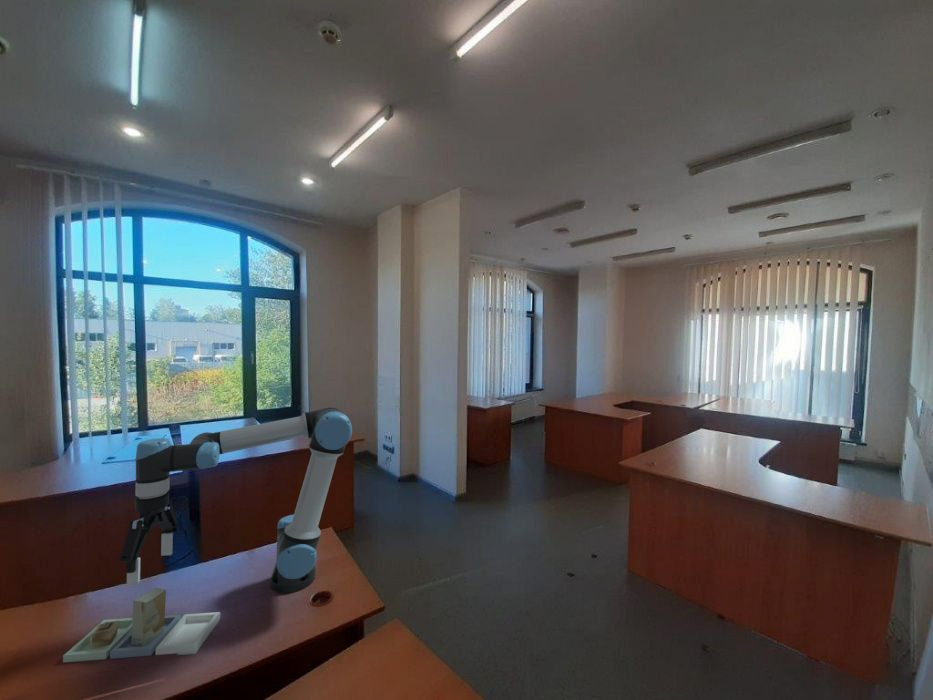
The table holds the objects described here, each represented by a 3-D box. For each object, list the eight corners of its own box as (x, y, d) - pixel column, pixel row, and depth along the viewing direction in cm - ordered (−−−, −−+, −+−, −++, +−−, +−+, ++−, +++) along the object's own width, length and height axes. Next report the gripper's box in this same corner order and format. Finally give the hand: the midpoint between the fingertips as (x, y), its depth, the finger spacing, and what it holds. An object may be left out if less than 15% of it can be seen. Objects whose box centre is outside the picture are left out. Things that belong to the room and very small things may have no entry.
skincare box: (143, 647, 103) (144, 603, 103) (130, 645, 103) (131, 601, 103) (165, 630, 109) (167, 588, 109) (153, 628, 110) (154, 586, 110)
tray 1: (141, 625, 111) (141, 617, 111) (105, 661, 99) (106, 652, 99) (103, 627, 110) (104, 619, 110) (62, 664, 97) (63, 655, 97)
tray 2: (181, 622, 113) (181, 614, 113) (151, 657, 100) (151, 648, 100) (144, 625, 112) (145, 617, 112) (109, 660, 99) (110, 651, 99)
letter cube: (117, 634, 107) (117, 620, 107) (110, 644, 103) (110, 630, 103) (99, 638, 105) (99, 624, 105) (91, 648, 102) (92, 634, 102)
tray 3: (220, 619, 115) (220, 612, 115) (195, 653, 102) (195, 645, 102) (184, 622, 113) (185, 614, 113) (155, 657, 100) (155, 648, 100)
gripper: (166, 479, 118) (165, 545, 118) (101, 513, 93) (99, 597, 93) (192, 478, 119) (191, 544, 119) (134, 512, 94) (133, 595, 94)
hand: (151, 567), depth 106 cm, fingers open, 13 cm apart
